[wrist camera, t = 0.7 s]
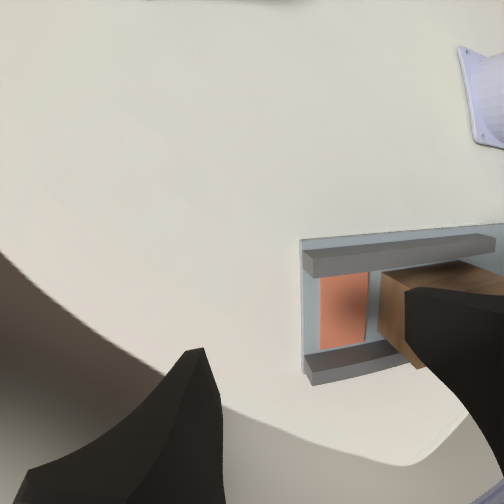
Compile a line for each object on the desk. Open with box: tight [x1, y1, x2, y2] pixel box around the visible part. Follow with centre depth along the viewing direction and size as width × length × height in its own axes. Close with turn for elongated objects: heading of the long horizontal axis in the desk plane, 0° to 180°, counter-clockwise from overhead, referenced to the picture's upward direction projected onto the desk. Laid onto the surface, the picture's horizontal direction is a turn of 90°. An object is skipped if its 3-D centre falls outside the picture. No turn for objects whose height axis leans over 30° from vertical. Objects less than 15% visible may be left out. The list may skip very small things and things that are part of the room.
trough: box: [299, 223, 504, 386], centre depth 18 cm, size 26×9×2 cm, turn 94°
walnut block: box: [377, 260, 504, 369], centre depth 16 cm, size 7×4×5 cm, turn 94°
